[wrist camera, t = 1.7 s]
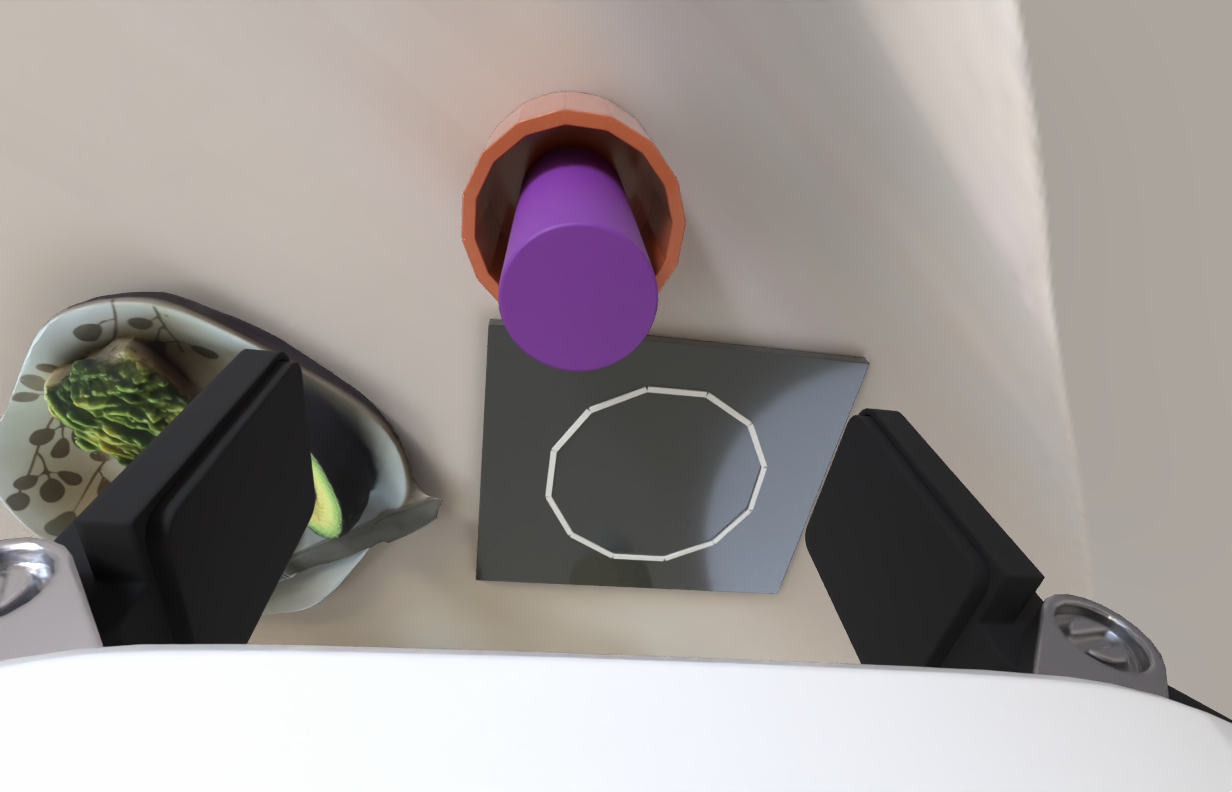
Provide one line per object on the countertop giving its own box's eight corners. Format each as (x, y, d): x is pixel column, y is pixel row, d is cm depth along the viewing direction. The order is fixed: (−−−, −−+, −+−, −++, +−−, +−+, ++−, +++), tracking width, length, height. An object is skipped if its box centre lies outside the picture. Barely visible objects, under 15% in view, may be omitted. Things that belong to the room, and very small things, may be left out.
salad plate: (297, 653, 39) (267, 726, 35) (-41, 520, 32) (-127, 592, 28) (481, 451, 32) (470, 513, 28) (104, 226, 25) (17, 266, 21)
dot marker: (525, 133, 24) (502, 212, 14) (629, 148, 24) (672, 234, 15) (517, 237, 26) (493, 364, 16) (614, 248, 26) (644, 379, 17)
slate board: (489, 318, 28) (488, 325, 27) (865, 357, 31) (871, 364, 30) (476, 572, 36) (475, 581, 36) (774, 586, 39) (777, 595, 38)
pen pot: (484, 76, 23) (464, 93, 18) (677, 107, 24) (705, 130, 19) (477, 266, 27) (459, 320, 22) (644, 285, 28) (661, 341, 23)
